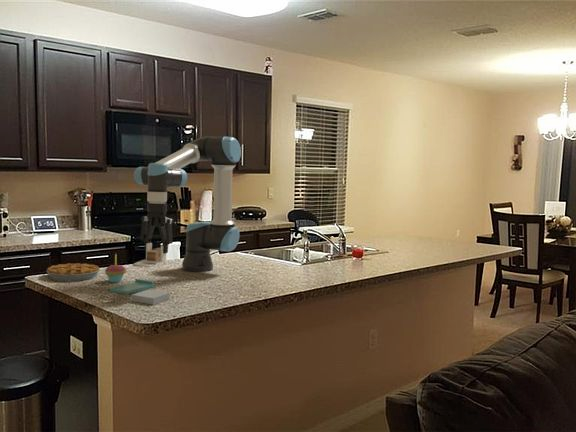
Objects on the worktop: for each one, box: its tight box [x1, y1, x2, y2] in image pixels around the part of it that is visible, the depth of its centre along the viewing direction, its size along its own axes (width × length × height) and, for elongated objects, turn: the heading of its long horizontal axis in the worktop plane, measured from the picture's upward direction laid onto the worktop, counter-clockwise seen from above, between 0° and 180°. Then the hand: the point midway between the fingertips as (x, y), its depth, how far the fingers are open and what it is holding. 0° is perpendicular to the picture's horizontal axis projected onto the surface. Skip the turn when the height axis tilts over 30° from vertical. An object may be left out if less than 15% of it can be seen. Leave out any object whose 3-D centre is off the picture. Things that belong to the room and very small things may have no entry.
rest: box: [109, 278, 155, 295], centre depth 214 cm, size 16×9×2 cm, turn 156°
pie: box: [46, 262, 100, 282], centre depth 232 cm, size 22×22×5 cm
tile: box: [130, 289, 171, 306], centre depth 198 cm, size 3×10×10 cm
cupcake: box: [104, 254, 127, 283], centre depth 226 cm, size 9×8×12 cm
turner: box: [131, 247, 162, 268], centre depth 208 cm, size 22×7×4 cm, turn 173°
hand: (156, 260), depth 210 cm, fingers closed on turner, 6 cm apart
